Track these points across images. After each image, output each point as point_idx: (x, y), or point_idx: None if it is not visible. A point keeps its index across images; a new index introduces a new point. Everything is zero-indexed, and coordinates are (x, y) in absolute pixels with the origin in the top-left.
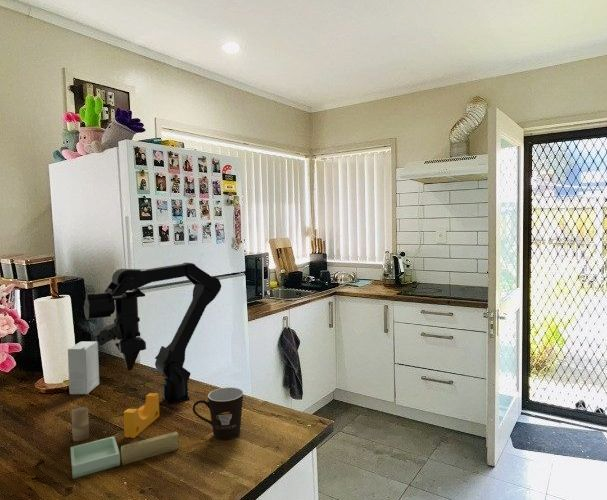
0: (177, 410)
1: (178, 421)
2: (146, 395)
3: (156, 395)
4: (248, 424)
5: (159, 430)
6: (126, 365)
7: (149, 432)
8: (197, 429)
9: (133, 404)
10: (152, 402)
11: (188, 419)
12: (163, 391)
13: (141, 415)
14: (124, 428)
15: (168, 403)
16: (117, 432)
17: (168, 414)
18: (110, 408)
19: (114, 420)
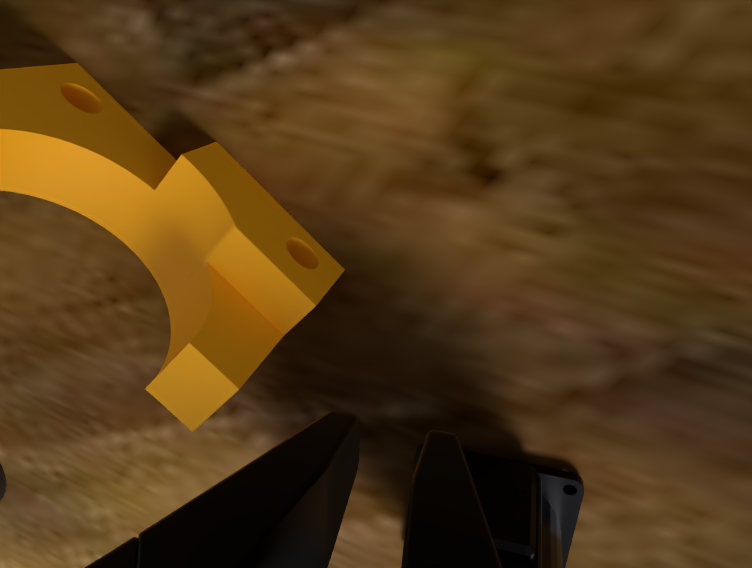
0: None
1: (150, 379)
2: (193, 348)
3: (168, 405)
4: (7, 549)
5: (85, 263)
6: (416, 469)
7: None
8: (30, 402)
9: (623, 267)
10: (175, 345)
11: (151, 424)
12: (491, 500)
13: (175, 228)
14: (27, 68)
15: (419, 446)
16: (162, 31)
17: (269, 380)
18: (702, 69)
19: (386, 51)
